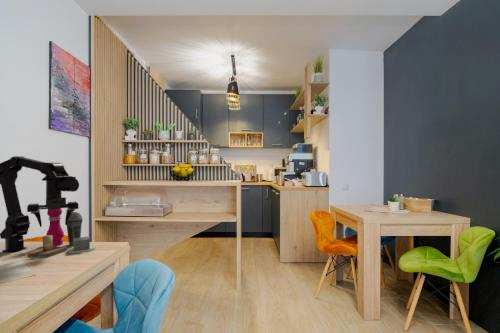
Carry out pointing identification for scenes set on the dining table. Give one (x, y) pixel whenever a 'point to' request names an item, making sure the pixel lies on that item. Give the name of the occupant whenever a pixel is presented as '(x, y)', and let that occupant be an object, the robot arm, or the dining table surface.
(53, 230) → the pepper mill
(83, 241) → the gray square block
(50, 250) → the post block
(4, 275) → the dining table surface
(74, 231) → the beverage cup
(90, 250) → the mat
